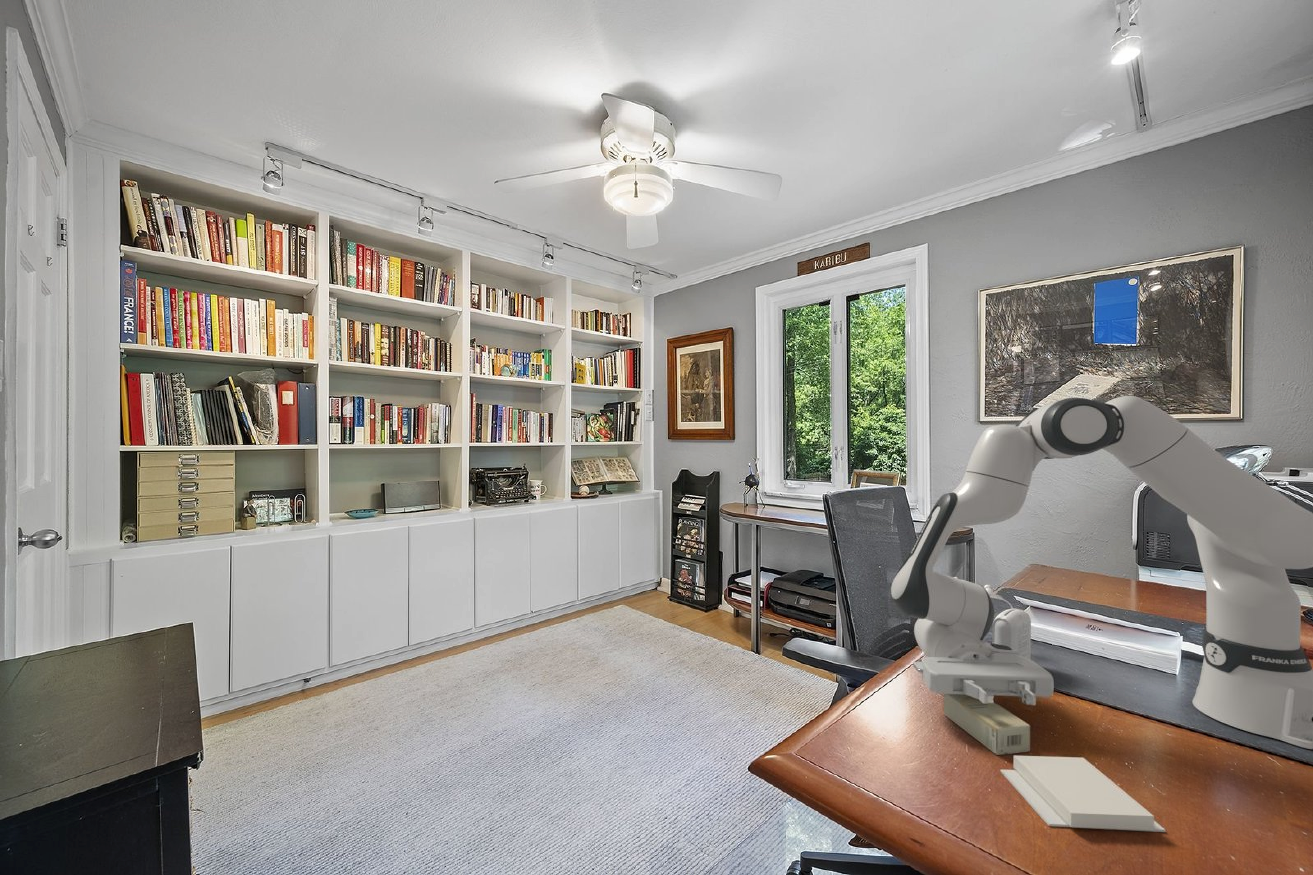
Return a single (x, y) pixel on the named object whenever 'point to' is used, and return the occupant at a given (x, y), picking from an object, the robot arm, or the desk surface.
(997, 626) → the grey rounded block
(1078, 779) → the tile
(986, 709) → the skincare box
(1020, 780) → the mat
